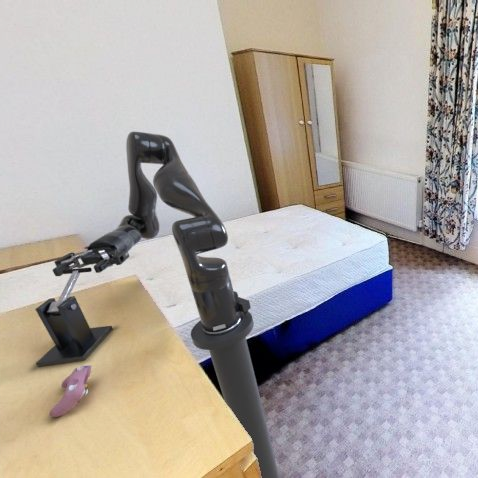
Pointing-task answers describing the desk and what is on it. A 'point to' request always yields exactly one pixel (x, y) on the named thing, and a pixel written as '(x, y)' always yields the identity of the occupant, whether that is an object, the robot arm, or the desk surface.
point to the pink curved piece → (72, 391)
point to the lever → (67, 289)
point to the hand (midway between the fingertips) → (76, 271)
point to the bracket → (69, 333)
